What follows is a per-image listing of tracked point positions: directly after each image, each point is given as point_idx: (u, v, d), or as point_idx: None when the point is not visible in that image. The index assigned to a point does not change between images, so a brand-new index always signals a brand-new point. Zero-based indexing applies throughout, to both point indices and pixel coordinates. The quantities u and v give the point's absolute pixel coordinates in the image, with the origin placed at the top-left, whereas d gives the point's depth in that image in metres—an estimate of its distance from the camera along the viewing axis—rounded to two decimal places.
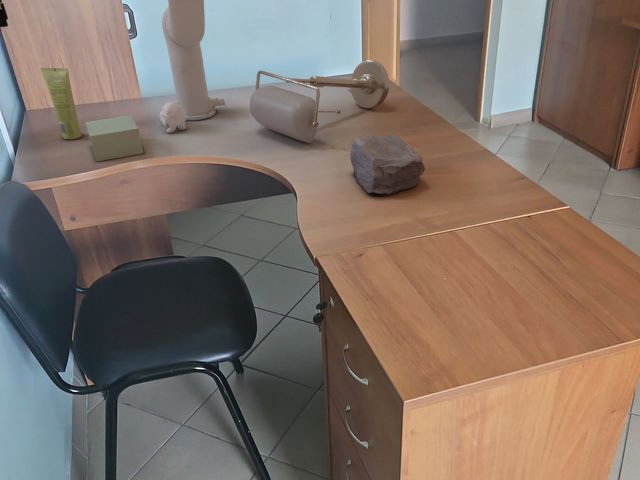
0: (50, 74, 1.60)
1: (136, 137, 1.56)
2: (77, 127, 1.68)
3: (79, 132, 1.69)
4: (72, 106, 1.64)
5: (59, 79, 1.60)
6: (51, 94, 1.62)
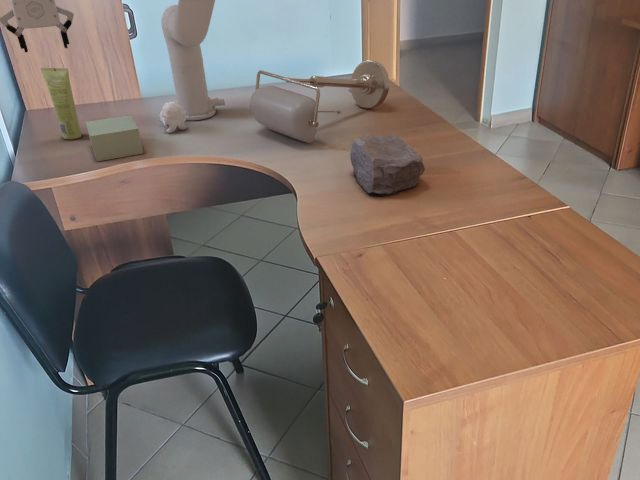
0: (50, 74, 1.60)
1: (136, 137, 1.56)
2: (77, 127, 1.68)
3: (79, 132, 1.69)
4: (72, 106, 1.64)
5: (59, 79, 1.60)
6: (51, 94, 1.62)
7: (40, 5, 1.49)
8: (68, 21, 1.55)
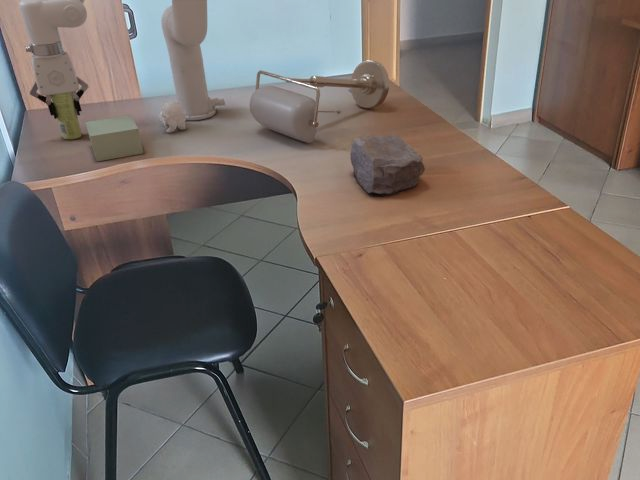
0: None
1: (136, 137, 1.56)
2: (77, 127, 1.68)
3: (79, 132, 1.69)
4: (72, 106, 1.64)
5: None
6: None
7: (61, 74, 1.58)
8: (80, 90, 1.64)
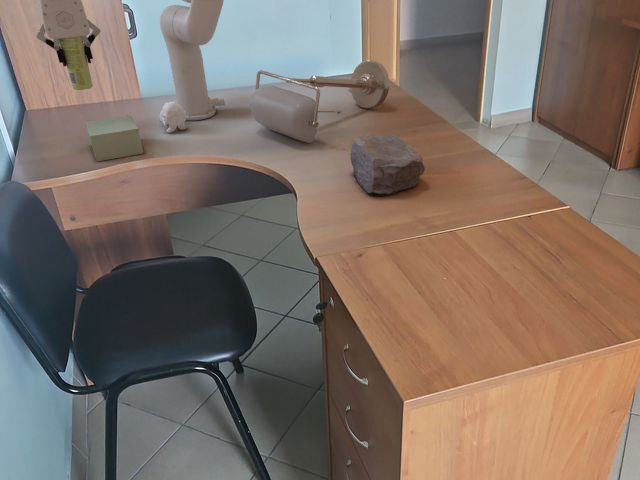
0: None
1: (136, 137, 1.56)
2: (88, 76, 1.54)
3: (90, 82, 1.55)
4: (83, 52, 1.51)
5: None
6: (60, 39, 1.48)
7: (70, 15, 1.45)
8: (91, 35, 1.51)
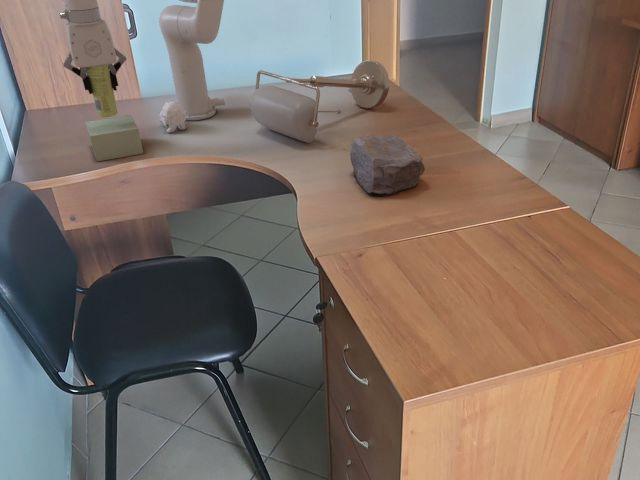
0: None
1: (136, 137, 1.56)
2: (113, 103, 1.54)
3: (115, 109, 1.55)
4: (109, 80, 1.51)
5: None
6: None
7: (97, 44, 1.44)
8: (118, 63, 1.50)
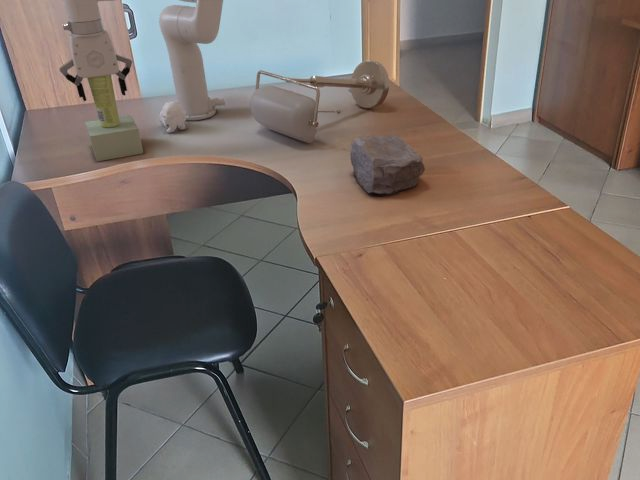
0: None
1: (136, 137, 1.56)
2: (116, 114, 1.55)
3: (117, 120, 1.57)
4: (111, 91, 1.52)
5: None
6: (89, 78, 1.50)
7: (100, 55, 1.46)
8: (126, 68, 1.52)
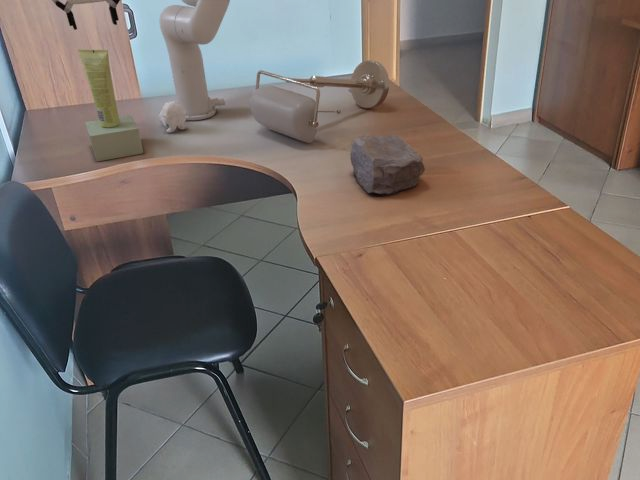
0: (88, 56, 1.48)
1: (136, 137, 1.56)
2: (116, 114, 1.55)
3: (117, 120, 1.57)
4: (111, 91, 1.52)
5: (98, 62, 1.48)
6: (89, 78, 1.50)
7: None
8: None
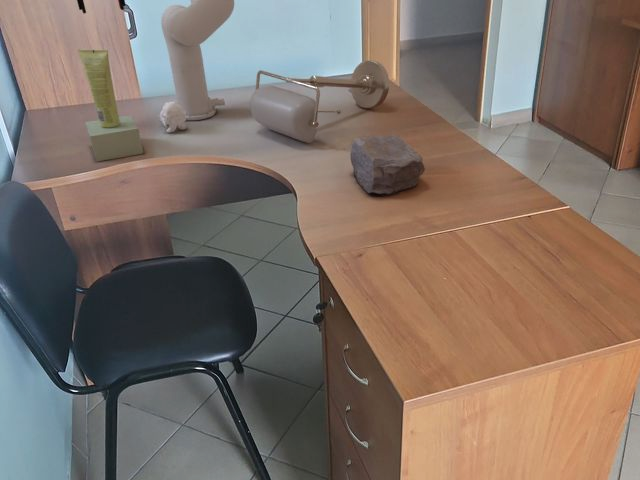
0: (88, 56, 1.48)
1: (136, 137, 1.56)
2: (116, 114, 1.55)
3: (117, 120, 1.57)
4: (111, 91, 1.52)
5: (98, 62, 1.48)
6: (89, 78, 1.50)
7: None
8: None
